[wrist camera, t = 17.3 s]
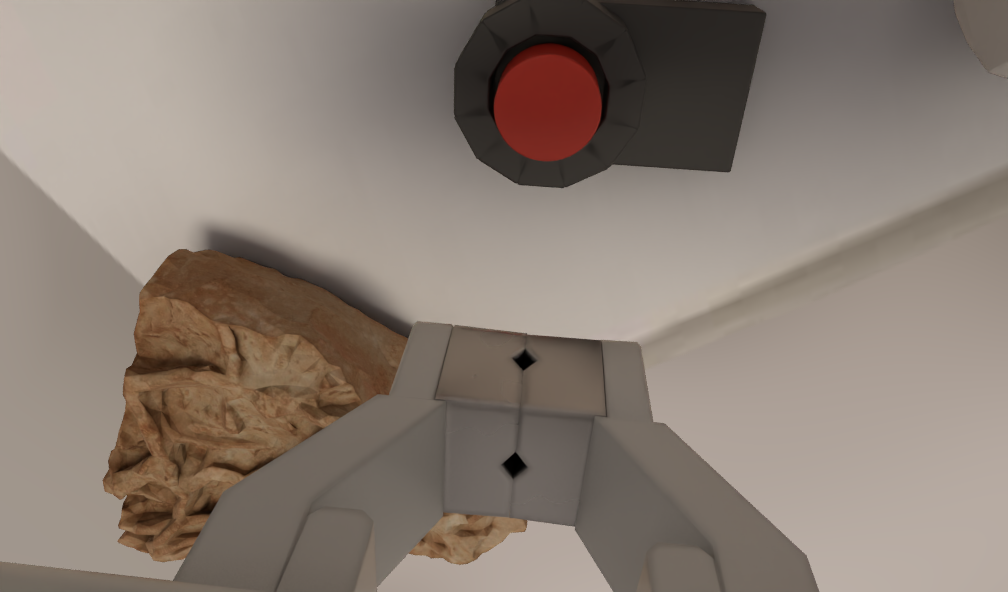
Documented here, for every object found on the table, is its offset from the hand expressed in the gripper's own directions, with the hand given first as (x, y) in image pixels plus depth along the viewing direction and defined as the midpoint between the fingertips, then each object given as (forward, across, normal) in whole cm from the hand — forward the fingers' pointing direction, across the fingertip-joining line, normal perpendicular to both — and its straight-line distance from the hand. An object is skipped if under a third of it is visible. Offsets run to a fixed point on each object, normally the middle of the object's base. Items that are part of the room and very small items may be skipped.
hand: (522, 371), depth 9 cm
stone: (+13, +5, +11) cm, 18 cm away
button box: (+19, -2, 0) cm, 19 cm away
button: (+16, 0, 0) cm, 16 cm away
